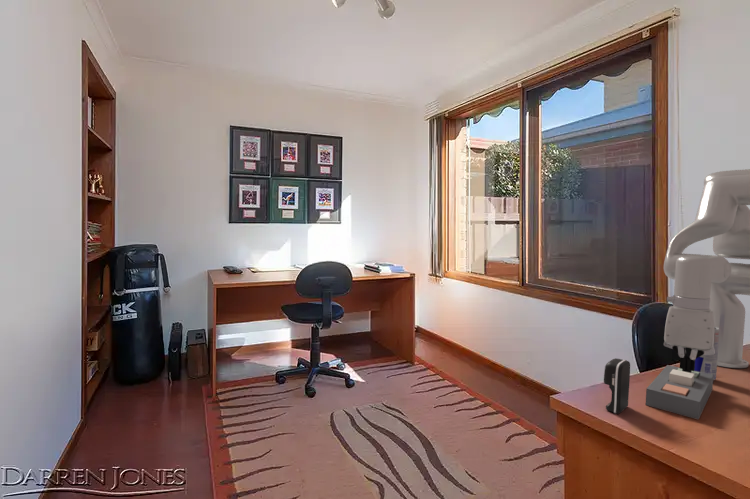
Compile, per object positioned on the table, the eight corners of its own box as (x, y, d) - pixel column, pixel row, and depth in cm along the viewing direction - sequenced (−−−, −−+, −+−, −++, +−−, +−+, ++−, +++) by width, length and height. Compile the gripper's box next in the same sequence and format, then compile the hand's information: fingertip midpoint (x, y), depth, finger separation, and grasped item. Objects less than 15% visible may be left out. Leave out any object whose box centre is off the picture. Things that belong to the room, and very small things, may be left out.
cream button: (672, 381, 105) (673, 369, 105) (693, 386, 102) (694, 373, 102) (668, 385, 102) (669, 373, 102) (690, 391, 99) (691, 378, 99)
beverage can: (707, 376, 117) (710, 324, 116) (720, 383, 112) (724, 329, 111) (688, 375, 117) (691, 323, 116) (700, 382, 112) (704, 328, 111)
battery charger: (611, 401, 99) (613, 355, 98) (628, 406, 96) (631, 359, 95) (600, 409, 94) (602, 361, 94) (618, 415, 92) (621, 365, 91)
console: (666, 378, 114) (667, 365, 114) (712, 389, 107) (713, 374, 107) (645, 404, 97) (646, 388, 97) (698, 419, 90) (699, 401, 90)
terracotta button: (665, 396, 99) (666, 383, 99) (687, 402, 96) (688, 388, 96) (661, 401, 96) (662, 388, 96) (684, 407, 93) (685, 394, 93)
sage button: (677, 379, 111) (678, 367, 111) (698, 384, 108) (698, 372, 107) (674, 383, 108) (675, 371, 107) (695, 388, 104) (696, 376, 104)
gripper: (653, 301, 109) (649, 368, 110) (727, 310, 98) (722, 384, 99) (660, 298, 114) (656, 362, 115) (730, 306, 103) (725, 376, 105)
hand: (686, 372), depth 107 cm, fingers closed
